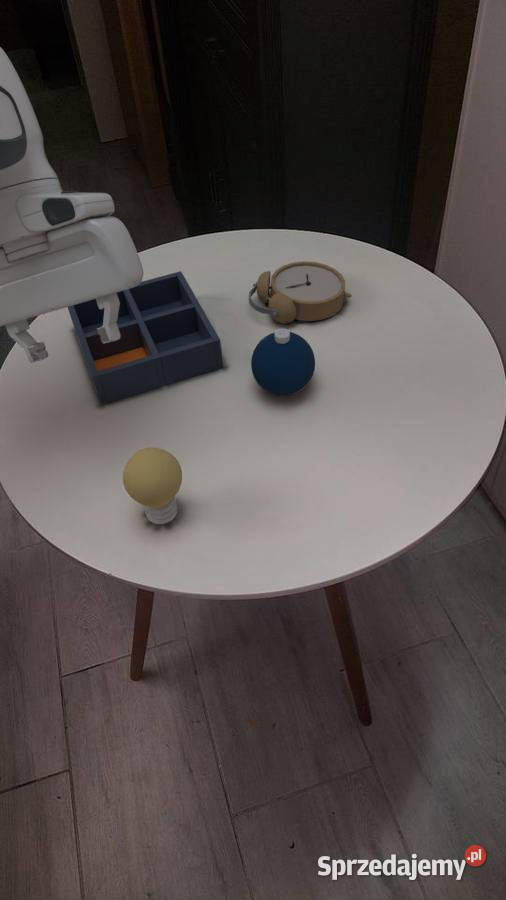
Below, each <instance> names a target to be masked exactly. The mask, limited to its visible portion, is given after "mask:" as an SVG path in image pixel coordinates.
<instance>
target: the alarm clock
mask: <svg viewBox="0 0 506 900" xmlns="http://www.w3.org/2000/svg"><path fill="white" fill-rule="evenodd" d="M345 290H346V280H345V278H344V276H343V275H342V273H340V272H339V271H338V270H337V269H336V268H334V267H331V266H330V265H328V264H324V263H320V262H316V261H306V260H305V261H303V260H302V261H295V262H290V263H287V264H284V265H282V266H280V267H278V268H277V269H276V270H275V271H274V272H273V274H272V275H271V271H270V270H267V271H263V272H262V273H261V274H260V275H259V277H258V278H257V281H256V282H255V283H253V284H252V288H251V289H250V290H249V293H248V304H249V305H250V307H251V308H252V309H253V310H254V311H256V312H258V313H261V314H265V315H269V316H271V318H272V319H273V320H274V321H276V322H277V323H280V324H283V325H284V324H287V325H288V324H290V323H292V322H293V321H294V320H298V321H306V322H313V321H321V320H326V319H328V318H331V317H333V316H335V315H336V314H337V313H338V312H340V310H341V309H342V307H343V305H344V298H352V296H353V294H352V293H349V292H345ZM255 293H256V294H257V297H258V299H259V301H261V302H263V303H265V304H268V307H264V306H262V305H259V304H257V303H256V301H254V300H253V298H252V296H253V295H254V294H255Z"/></svg>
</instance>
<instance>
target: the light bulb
mask: <svg viewBox="0 0 506 900" xmlns="http://www.w3.org/2000/svg"><path fill="white" fill-rule="evenodd" d="M122 482H123V487H124V489H125V491H126V493H127V494H128V495H129V497H130V498H131V499H132V500H133V501H135V502H136V503H138V504H140V505H142V506H143V509H144V512H145V516H146V518H147V520H148V521H149V522H151V523H153V524H155V525H165V524H167V523H170V522H172V521H173V520H174V519H175V517H176V516H177V514H178V511H179V509H178V507H179V506H178V504H177V499H176V495H177V494H178V493H179V492H180V489H181V486H182V482H183V471H182V467H181V465H180V462H179V460H178V459H177V458H176V456H174V454H172V453H171V452H170V451H167V450H165V449H164V448H163V449H162V448H160V447H143V448H140V449H139V450H137V451H136V452H135V453H133V454H132V455H131V456H130V457H129V459H128V460H127V462H126V463H125V465H124V468H123V471H122Z"/></svg>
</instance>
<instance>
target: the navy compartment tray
mask: <svg viewBox="0 0 506 900" xmlns="http://www.w3.org/2000/svg"><path fill="white" fill-rule="evenodd" d="M117 296H118V299H119V302H120V306H119V312H118V318H117V321H116V323H117V326H118V329H119V332H120V339H118V340H116V341H113V342H109V343H105V344H103V343H102V342H101V339H100V337H101V336H100V335H99V334H98V331H97V328H99V327H101V326H103V318H104V308H103V309H99V307H98V304H97V302H96V299H93V300H90V301H86V302H83V303H79V304H76V305H73V306H69V307H67V310H68V314H69V317H70V320H71V323H72V326H73V328H74V331H75V334H76V337H77V341H78V343H79V346H80V349H81V352H82V354H83V358H84V361H85V363H86V366H87V369H88V372H89V375H90V378H91V381H92V383H93V386H94V389H95V393H96V395H97V398H98V401H99V404H100V405H105V404H109V403H111V402H114V401H117V400H121V399H124V398H128V397H131V396H135V395H138V394H141V393H145V392H147V391H151V390H155V389H157V388H160V387H161V388H162V387H164V386H167V385H171V384H173V383H177V382H181V381H183V380H187V379H191V378H193V377H197V376H200V375H203V374H206V373H210V372H213V371H216V370H220V369H223V368H224V361H223V353H222V343H221V338H220V337H219V335H218V333H217V331H216V329H215V328H214V326H213V325H212V323H211V320H210V319H209V317H208V316H207V313H206V312H205V310H204V308H203V307H202V305H201V303H200V302H199V300H198V298H197V296H196V295H195V293H194V291H193V289H192V288H191V286H190V284H189V283H188V281H187V279H186V277H185V276H184V274H183V272H182V271H181V270H180V271H175V272H172V273H169V274H166V275H162V276H158V277H154V278H150V279H147V280H142V281H141V284H140V285H138V286H136V287H133V288H130V289H127V290H124V291H120V292H117Z"/></svg>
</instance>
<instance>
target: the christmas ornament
mask: <svg viewBox="0 0 506 900" xmlns="http://www.w3.org/2000/svg"><path fill="white" fill-rule="evenodd" d="M253 349H254V350H253V351H252V355H251V359H250V368H251V373H252V376H253V378H254V380H255V382H256V383H257V385H259V387H260V388H261V389H262V390H264V391H266V392H267V393H269V394H272V395H274V396H282V397H286V396H291V395H294V394H297V393H299V392H301V391H302V390H303V389H305V388H306V387H307V386H308V384H309V383H310V381H311V380H312V378H313V376H314V373H315V368H316V358H315V353H314V351H313V348H312V346H311V345H310V343H309V342H308V341H307V340H306V339H305V338H303V337H302V336H301V335H300V334H298V333H295V332H292V331H290V330H289V329H287V328H283V327H281V328H277V329H275V331H274V332H271V333H269V334H267V335H266V336H264V337H263V338H262V339H261V340H259V341H258V343H257V344H256V345H255V347H254V348H253Z"/></svg>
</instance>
